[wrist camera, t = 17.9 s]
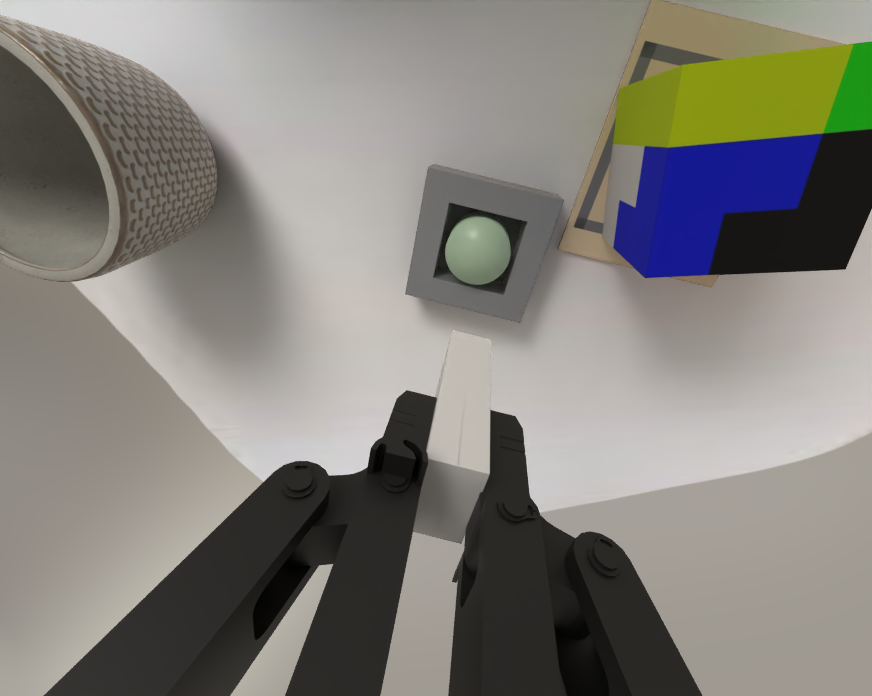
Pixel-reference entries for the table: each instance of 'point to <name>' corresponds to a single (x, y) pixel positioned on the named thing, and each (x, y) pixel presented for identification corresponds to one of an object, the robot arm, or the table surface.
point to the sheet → (653, 54)
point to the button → (478, 248)
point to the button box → (490, 197)
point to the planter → (92, 158)
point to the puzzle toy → (744, 164)
